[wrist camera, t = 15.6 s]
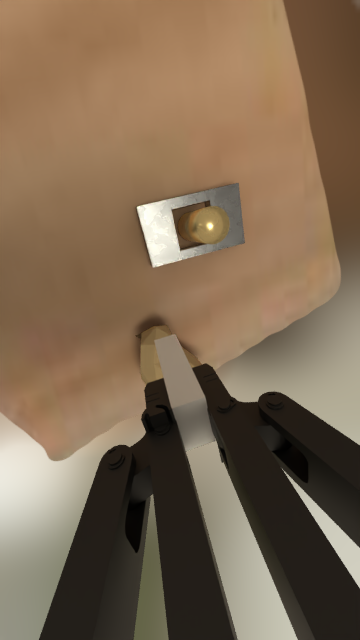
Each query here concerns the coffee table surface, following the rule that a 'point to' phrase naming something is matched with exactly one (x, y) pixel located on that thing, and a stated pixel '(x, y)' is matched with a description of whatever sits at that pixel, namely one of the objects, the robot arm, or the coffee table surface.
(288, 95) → the coffee table surface
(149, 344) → the faceted tan rock
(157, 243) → the metal plate with hole
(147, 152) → the coffee table surface
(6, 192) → the coffee table surface
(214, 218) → the gold peg
